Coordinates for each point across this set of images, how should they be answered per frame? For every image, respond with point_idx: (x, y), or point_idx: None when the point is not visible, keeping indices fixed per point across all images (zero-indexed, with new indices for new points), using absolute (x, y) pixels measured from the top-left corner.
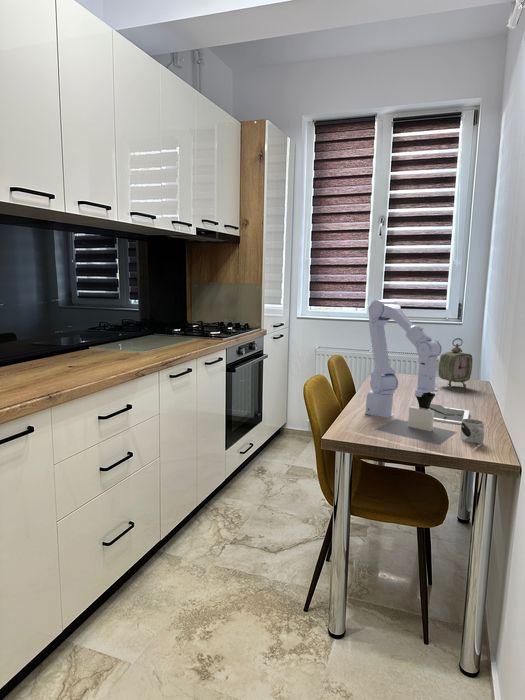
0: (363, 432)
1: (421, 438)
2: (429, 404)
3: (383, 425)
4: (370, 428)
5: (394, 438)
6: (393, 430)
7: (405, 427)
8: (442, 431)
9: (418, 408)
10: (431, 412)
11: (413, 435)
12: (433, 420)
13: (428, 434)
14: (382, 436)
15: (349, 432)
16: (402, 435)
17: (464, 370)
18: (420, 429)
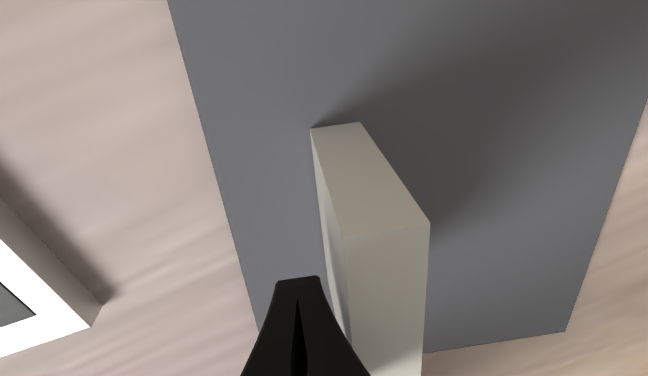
0: (612, 334)
1: (609, 76)
2: (283, 369)
3: (461, 344)
4: (523, 351)
5: (642, 205)
6: (524, 275)
7: None
8: (272, 47)
9: (402, 364)
10: (424, 221)
11: (563, 152)
12: (34, 252)
13: (463, 90)
14: (635, 259)
15: (644, 359)
16: (603, 196)
17: None
18: None
